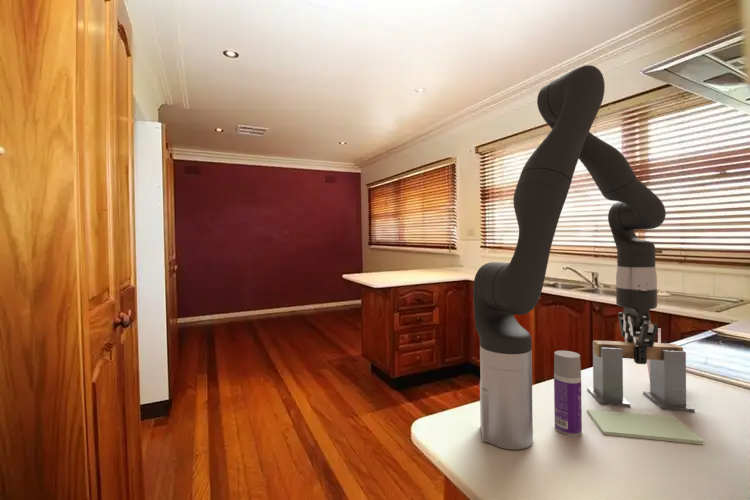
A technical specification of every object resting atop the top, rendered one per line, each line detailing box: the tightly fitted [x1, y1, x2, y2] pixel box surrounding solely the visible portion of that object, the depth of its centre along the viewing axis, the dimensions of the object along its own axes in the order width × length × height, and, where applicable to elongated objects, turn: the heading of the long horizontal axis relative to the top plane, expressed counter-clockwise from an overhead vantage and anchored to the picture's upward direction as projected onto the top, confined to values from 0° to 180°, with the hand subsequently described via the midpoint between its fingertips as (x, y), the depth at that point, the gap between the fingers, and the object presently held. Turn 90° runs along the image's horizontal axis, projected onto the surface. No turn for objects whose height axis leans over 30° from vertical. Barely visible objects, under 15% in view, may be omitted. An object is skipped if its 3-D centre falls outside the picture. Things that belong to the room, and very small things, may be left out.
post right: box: [642, 350, 696, 413], centre depth 79 cm, size 6×8×12 cm
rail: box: [593, 340, 684, 360], centre depth 80 cm, size 17×3×3 cm, turn 76°
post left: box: [586, 340, 631, 408], centre depth 82 cm, size 6×8×12 cm
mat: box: [586, 409, 705, 445], centre depth 69 cm, size 16×9×1 cm, turn 76°
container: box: [553, 350, 583, 437], centre depth 68 cm, size 5×5×15 cm
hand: (636, 360), depth 80 cm, fingers closed on rail, 3 cm apart
